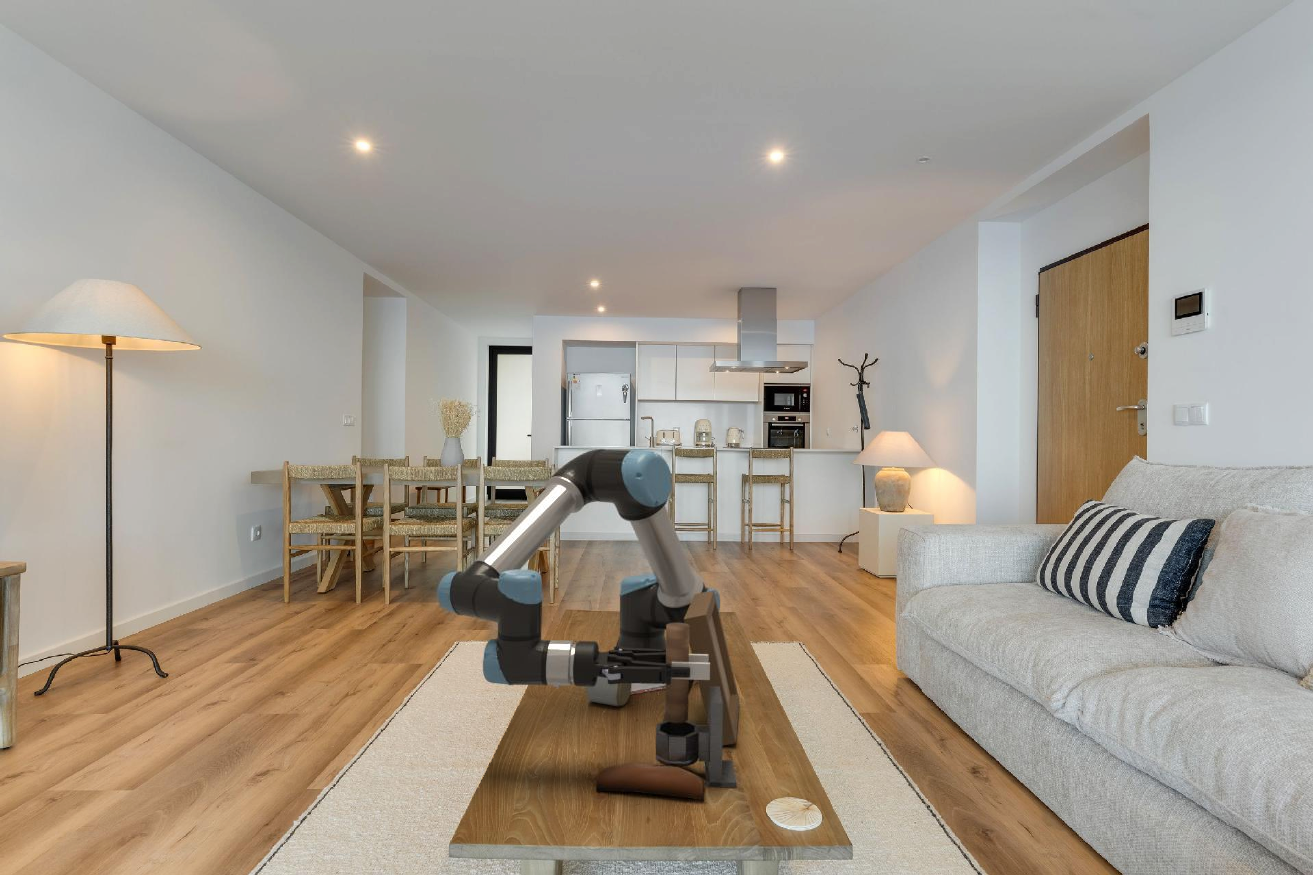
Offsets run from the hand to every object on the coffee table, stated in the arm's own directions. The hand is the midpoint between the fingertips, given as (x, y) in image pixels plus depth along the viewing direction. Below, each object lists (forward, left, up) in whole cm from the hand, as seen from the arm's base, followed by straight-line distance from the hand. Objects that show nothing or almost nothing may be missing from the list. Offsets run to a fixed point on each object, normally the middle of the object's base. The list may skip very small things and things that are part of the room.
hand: (708, 666), depth 119 cm
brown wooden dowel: (+3, -4, -9) cm, 10 cm away
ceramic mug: (-16, -35, -19) cm, 43 cm away
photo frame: (-18, -13, -19) cm, 29 cm away
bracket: (+1, -2, -19) cm, 19 cm away
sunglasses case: (+8, -5, -19) cm, 22 cm away
